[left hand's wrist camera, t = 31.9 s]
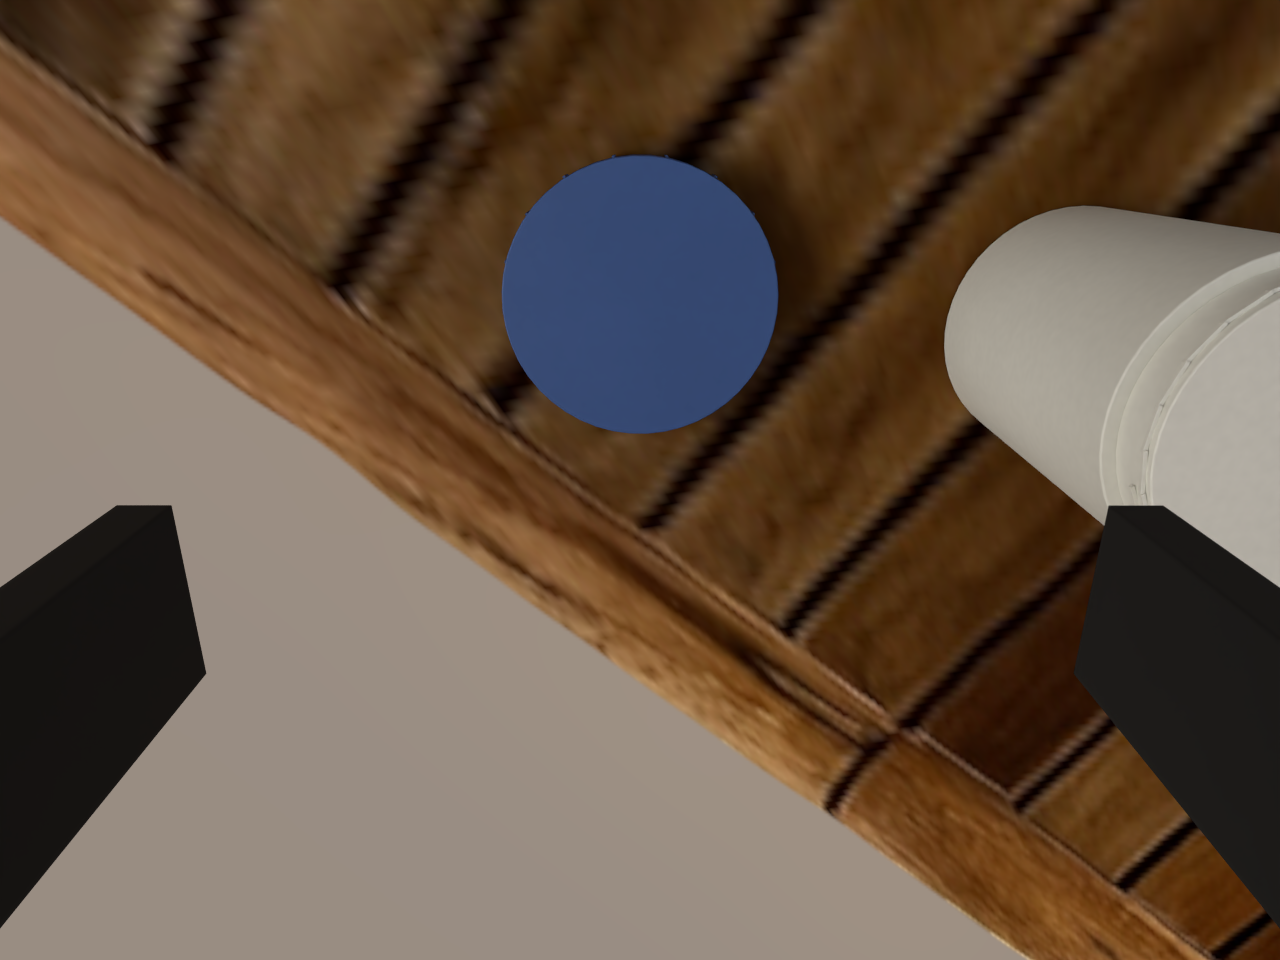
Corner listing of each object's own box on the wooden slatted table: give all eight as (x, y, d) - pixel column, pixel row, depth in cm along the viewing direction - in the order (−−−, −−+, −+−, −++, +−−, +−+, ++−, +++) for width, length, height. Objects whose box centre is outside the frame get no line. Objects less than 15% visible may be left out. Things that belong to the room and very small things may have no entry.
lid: (478, 181, 36) (469, 184, 34) (752, 126, 35) (759, 126, 33) (540, 438, 40) (535, 454, 38) (787, 394, 39) (795, 408, 37)
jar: (977, 191, 36) (1212, 229, 21) (1219, 221, 36) (1617, 278, 22) (919, 429, 40) (1086, 603, 25) (1141, 454, 40) (1434, 639, 25)
